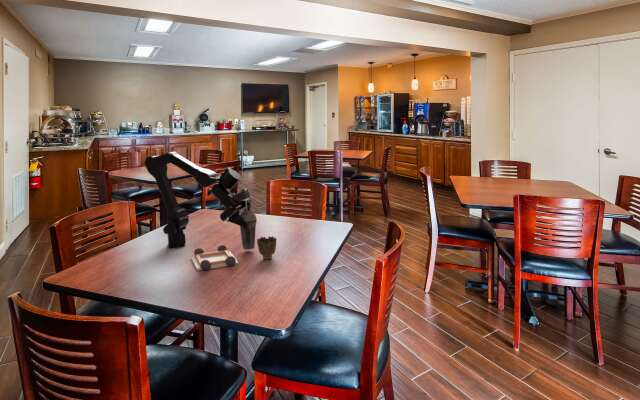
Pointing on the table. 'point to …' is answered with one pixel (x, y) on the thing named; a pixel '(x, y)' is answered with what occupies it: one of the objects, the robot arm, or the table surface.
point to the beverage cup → (248, 229)
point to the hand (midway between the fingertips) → (250, 225)
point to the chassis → (213, 258)
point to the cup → (267, 247)
